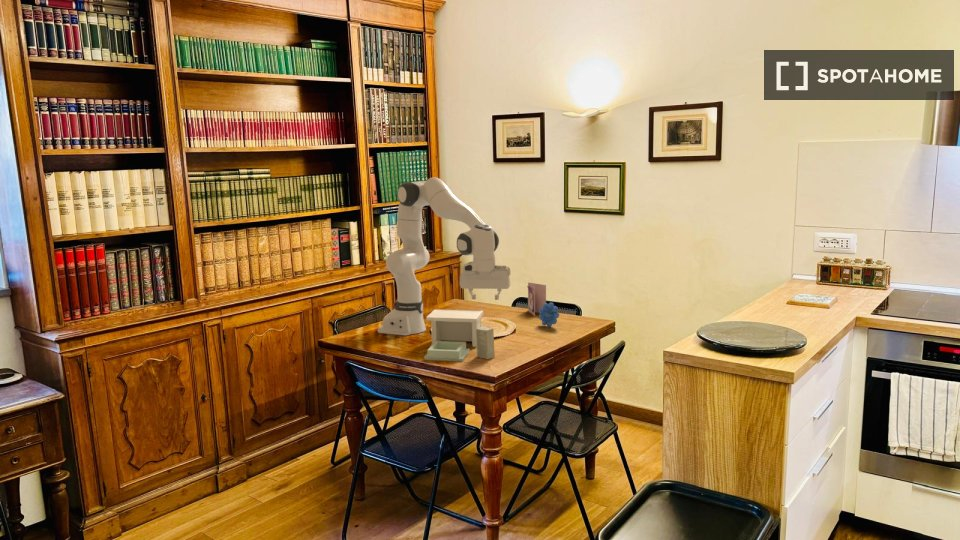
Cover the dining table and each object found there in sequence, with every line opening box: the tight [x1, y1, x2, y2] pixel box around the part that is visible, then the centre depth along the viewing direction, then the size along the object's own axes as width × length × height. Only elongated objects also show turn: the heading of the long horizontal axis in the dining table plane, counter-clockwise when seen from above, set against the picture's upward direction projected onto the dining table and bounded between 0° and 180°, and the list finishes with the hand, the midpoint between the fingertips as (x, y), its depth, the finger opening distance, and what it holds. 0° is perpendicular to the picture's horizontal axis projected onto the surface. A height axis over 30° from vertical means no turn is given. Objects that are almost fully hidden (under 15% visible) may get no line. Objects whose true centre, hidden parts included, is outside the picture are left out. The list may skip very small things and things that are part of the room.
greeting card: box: [526, 282, 547, 317], centre depth 349 cm, size 11×7×15 cm, turn 13°
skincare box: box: [476, 325, 495, 360], centre depth 279 cm, size 6×4×12 cm
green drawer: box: [423, 340, 470, 362], centre depth 283 cm, size 16×14×4 cm
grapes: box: [538, 302, 560, 328], centre depth 324 cm, size 12×7×12 cm, turn 47°
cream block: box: [425, 308, 484, 348], centre depth 298 cm, size 22×14×14 cm, turn 79°
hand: (485, 299), depth 277 cm, fingers open, 8 cm apart
